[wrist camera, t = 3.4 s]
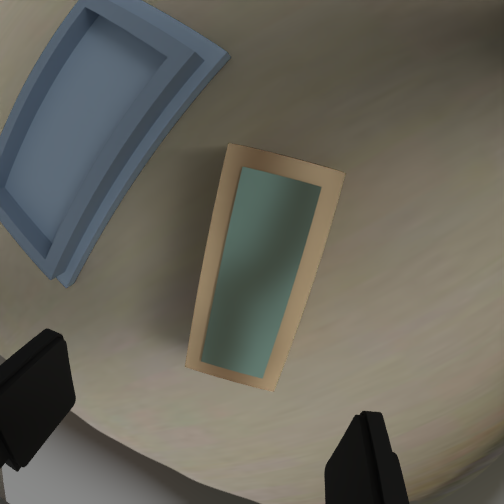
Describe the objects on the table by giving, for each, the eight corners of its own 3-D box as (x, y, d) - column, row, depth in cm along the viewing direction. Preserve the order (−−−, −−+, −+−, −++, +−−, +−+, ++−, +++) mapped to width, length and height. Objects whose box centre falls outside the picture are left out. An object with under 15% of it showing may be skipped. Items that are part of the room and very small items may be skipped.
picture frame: (334, 169, 20) (346, 173, 15) (278, 350, 24) (273, 393, 19) (244, 145, 20) (227, 142, 15) (204, 329, 25) (184, 368, 20)
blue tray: (231, 57, 18) (219, 42, 15) (74, 283, 25) (52, 297, 22) (113, -12, 17) (92, -26, 14) (-4, 194, 24) (-27, 199, 21)
